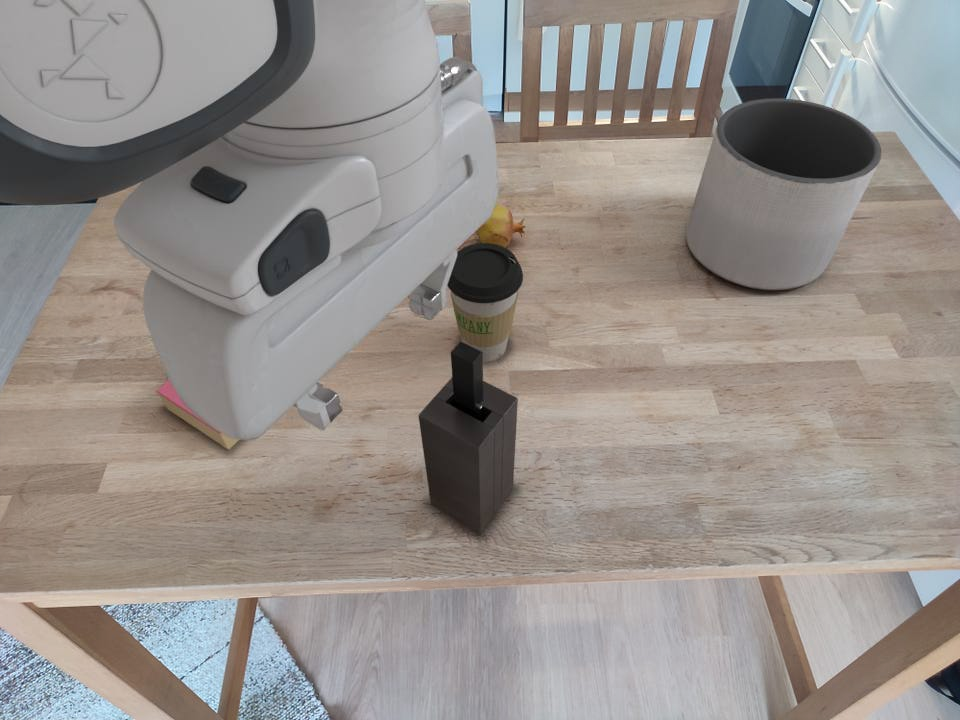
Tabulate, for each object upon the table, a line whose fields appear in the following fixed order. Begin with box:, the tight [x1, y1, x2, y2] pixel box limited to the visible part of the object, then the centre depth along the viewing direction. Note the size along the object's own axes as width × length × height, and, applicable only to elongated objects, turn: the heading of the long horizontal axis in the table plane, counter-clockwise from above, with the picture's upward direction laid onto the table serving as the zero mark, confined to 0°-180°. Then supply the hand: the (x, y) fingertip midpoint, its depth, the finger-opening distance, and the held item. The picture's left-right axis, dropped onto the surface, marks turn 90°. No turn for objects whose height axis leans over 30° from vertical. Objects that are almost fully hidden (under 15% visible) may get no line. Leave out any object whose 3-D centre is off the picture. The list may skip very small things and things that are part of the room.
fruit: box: [475, 204, 527, 248], centre depth 105 cm, size 7×7×10 cm
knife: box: [450, 341, 484, 422], centre depth 67 cm, size 2×3×25 cm, turn 57°
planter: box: [685, 97, 882, 291], centre depth 98 cm, size 22×22×20 cm
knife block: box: [417, 377, 519, 536], centre depth 71 cm, size 7×7×18 cm
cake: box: [155, 379, 241, 450], centre depth 85 cm, size 8×12×4 cm
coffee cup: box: [447, 242, 524, 363], centre depth 87 cm, size 10×10×15 cm
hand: (379, 359), depth 37 cm, fingers open, 8 cm apart
